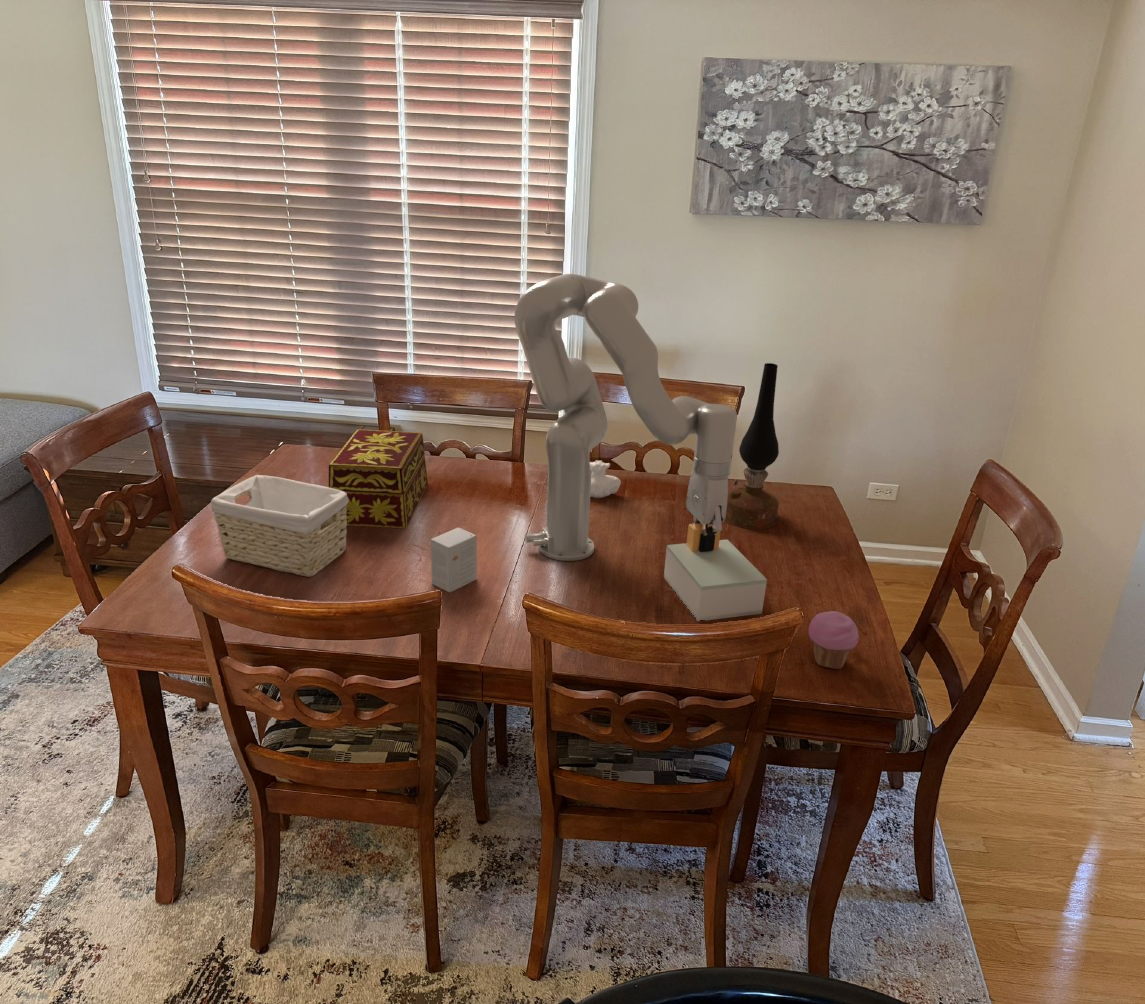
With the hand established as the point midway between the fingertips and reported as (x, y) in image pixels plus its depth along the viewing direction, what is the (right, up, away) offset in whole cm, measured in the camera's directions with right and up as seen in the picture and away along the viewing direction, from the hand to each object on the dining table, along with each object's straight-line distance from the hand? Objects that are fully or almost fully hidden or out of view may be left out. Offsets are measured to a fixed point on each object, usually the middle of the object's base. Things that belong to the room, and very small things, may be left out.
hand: (702, 546), depth 177 cm
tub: (+1, -10, -2) cm, 10 cm away
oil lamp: (+17, +5, +34) cm, 39 cm away
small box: (-52, -8, -2) cm, 53 cm away
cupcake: (+19, -20, -23) cm, 36 cm away
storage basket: (-89, -3, +5) cm, 90 cm away
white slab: (+2, -4, -5) cm, 7 cm away
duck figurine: (-21, +11, +43) cm, 49 cm away
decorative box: (-75, +9, +33) cm, 82 cm away
